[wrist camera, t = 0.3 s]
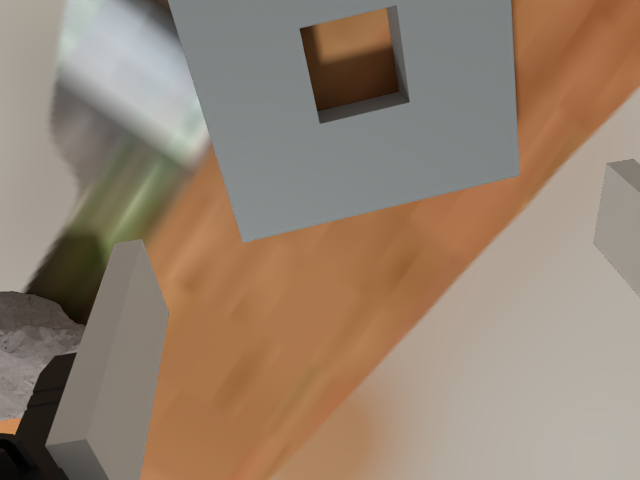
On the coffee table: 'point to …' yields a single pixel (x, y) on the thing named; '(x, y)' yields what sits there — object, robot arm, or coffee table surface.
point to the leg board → (350, 108)
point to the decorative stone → (30, 345)
